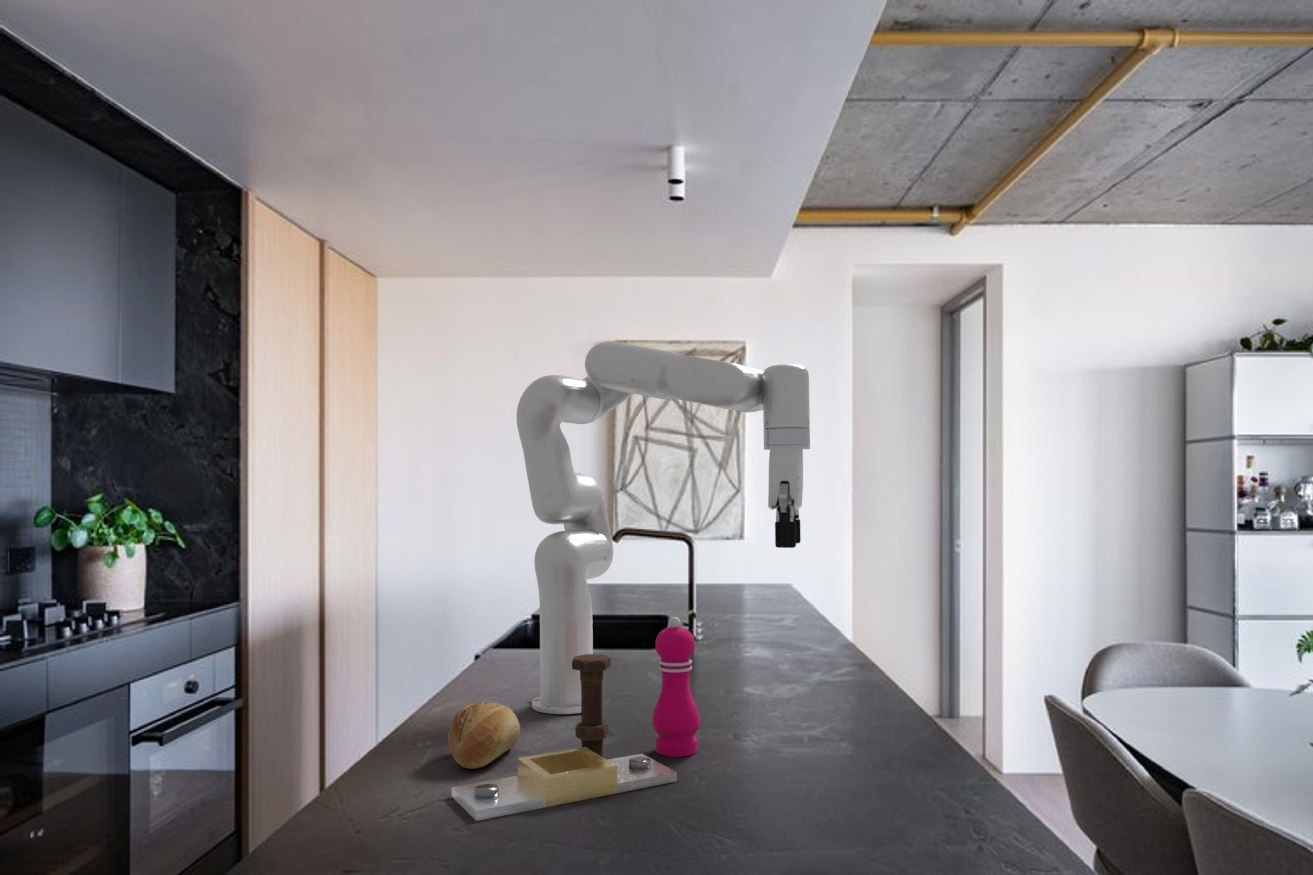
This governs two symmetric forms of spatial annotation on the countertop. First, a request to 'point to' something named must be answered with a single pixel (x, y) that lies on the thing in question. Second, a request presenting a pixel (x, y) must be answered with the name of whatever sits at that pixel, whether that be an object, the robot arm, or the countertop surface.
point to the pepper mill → (675, 693)
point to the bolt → (592, 700)
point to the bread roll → (482, 733)
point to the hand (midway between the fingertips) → (788, 545)
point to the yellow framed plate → (560, 782)
